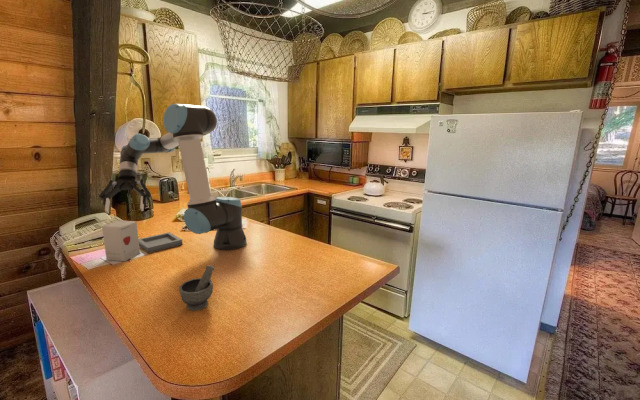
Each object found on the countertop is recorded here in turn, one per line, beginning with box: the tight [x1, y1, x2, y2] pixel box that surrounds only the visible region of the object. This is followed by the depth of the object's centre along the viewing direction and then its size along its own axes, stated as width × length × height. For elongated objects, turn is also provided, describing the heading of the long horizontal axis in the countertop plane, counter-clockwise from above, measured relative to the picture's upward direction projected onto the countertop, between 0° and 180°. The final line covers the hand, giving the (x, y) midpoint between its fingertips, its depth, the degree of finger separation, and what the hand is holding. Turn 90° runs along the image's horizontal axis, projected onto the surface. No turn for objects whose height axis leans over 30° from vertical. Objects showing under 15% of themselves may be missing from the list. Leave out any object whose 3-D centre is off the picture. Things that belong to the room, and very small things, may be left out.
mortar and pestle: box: [178, 264, 215, 312], centre depth 94 cm, size 11×9×12 cm
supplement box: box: [101, 219, 141, 262], centre depth 127 cm, size 9×9×15 cm
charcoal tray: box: [138, 231, 183, 254], centre depth 143 cm, size 15×15×2 cm
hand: (124, 210), depth 135 cm, fingers open, 13 cm apart
